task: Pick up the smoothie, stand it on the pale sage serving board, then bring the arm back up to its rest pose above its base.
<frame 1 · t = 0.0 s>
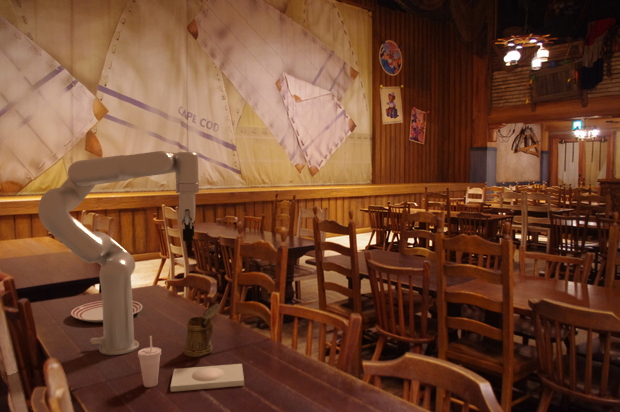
hand: (188, 238, 173), 37 cm above the table, tool pointing down, fingers open, 9 cm apart
smoothie: (150, 384, 144), on the table
dinner plate: (107, 316, 210), on the table
serving board: (208, 379, 146), on the table
wooden mug: (203, 354, 167), on the table
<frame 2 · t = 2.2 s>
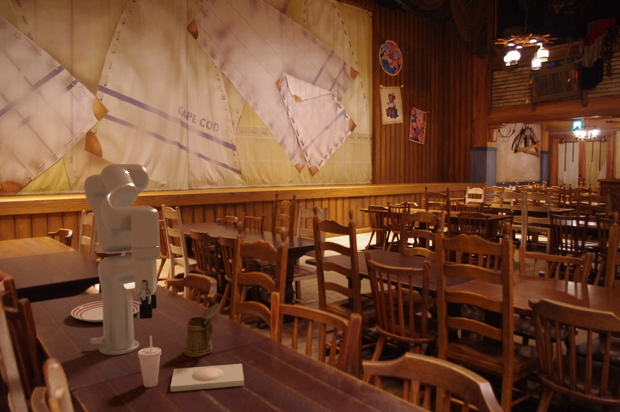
hand: (148, 313, 142), 21 cm above the table, tool pointing down, fingers open, 9 cm apart
nothing on the table moved.
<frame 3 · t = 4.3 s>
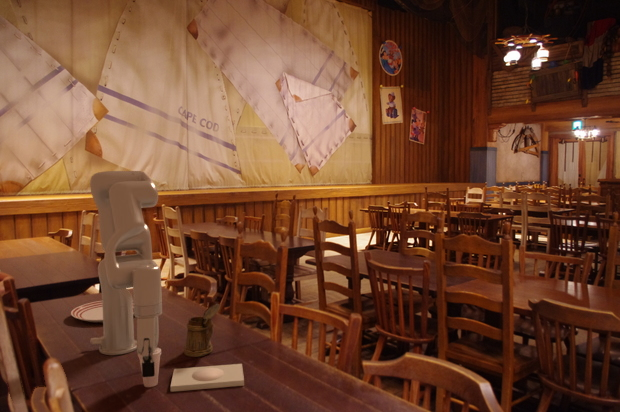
hand: (150, 370, 143), 4 cm above the table, tool pointing down, fingers closed on smoothie, 6 cm apart
smoothie: (150, 384, 144), on the table, touching gripper
everything else where it was.
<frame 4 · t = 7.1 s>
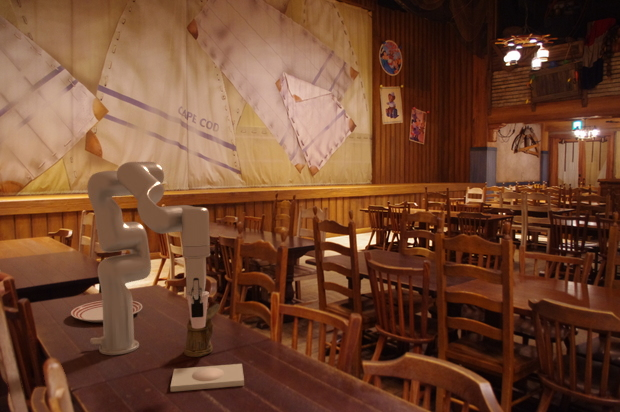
hand: (198, 312, 144), 20 cm above the table, tool pointing down, fingers closed on smoothie, 6 cm apart
smoothie: (198, 327, 145), point 16 cm above the table, touching gripper
everything else where it was.
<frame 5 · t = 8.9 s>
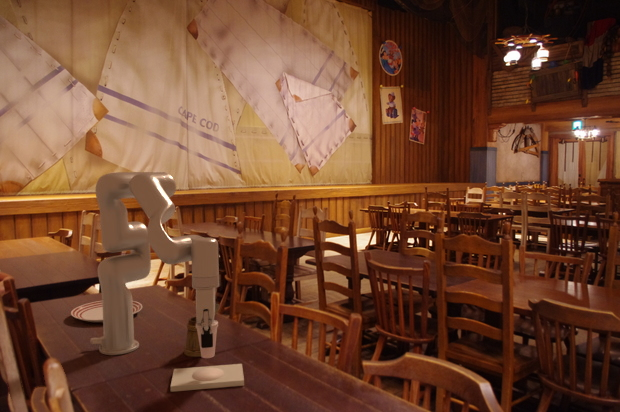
hand: (207, 342, 146), 11 cm above the table, tool pointing down, fingers closed on smoothie, 6 cm apart
smoothie: (207, 356, 146), point 7 cm above the table, touching gripper
everything else where it was.
when the fingers open (7 cm above the table, at t = 10.2 s): smoothie drops 1 cm, resting on serving board.
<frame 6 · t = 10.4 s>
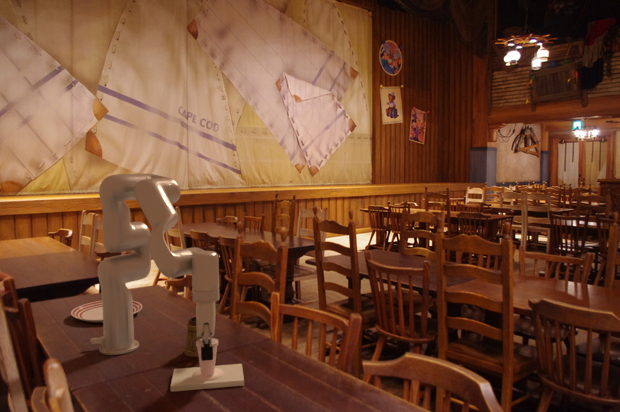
hand: (207, 353, 146), 8 cm above the table, tool pointing down, fingers open, 8 cm apart
smoothie: (207, 374, 146), point 1 cm above the table, touching serving board
everything else where it was.
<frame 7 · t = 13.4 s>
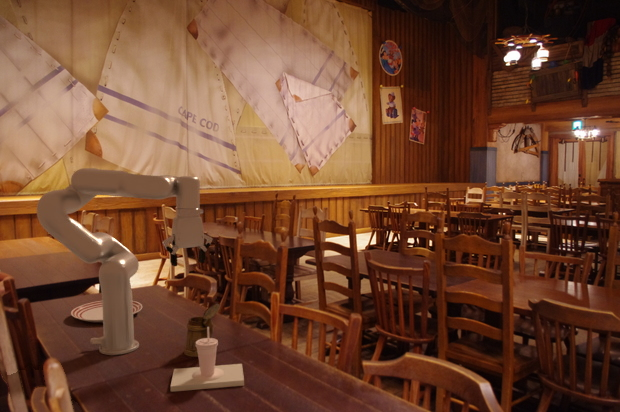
hand: (188, 264, 170), 29 cm above the table, tool pointing down, fingers open, 9 cm apart
nothing on the table moved.
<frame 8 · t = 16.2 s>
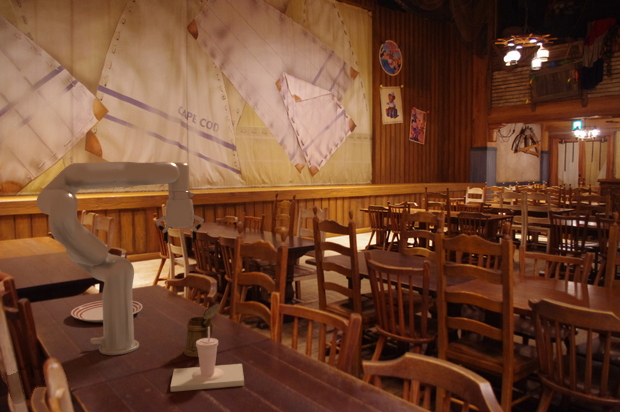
hand: (180, 242, 187), 33 cm above the table, tool pointing down, fingers open, 9 cm apart
nothing on the table moved.
at the end: smoothie inside the target area on the serving board (0.2 cm from its centre), point 1.4 cm above the serving board's base; smoothie tilted 1°; the gripper is holding nothing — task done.
